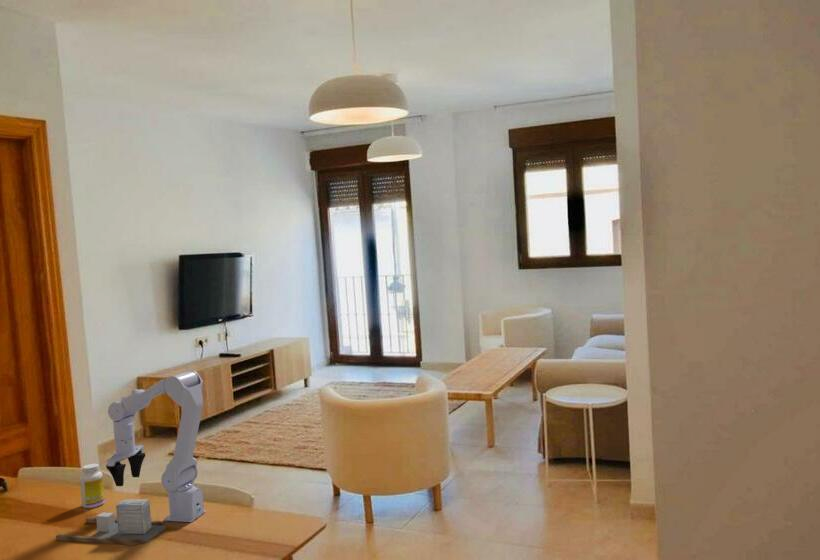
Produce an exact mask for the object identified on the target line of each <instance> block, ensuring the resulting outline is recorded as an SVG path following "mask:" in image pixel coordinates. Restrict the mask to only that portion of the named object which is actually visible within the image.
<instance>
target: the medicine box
mask: <svg viewBox="0 0 820 560" xmlns="http://www.w3.org/2000/svg"><path fill="white" fill-rule="evenodd" d="M115 510H116V519H117V523H118V534H145V533H146V532H147V531H148V530H149V529H150V528H151V527H152V524H151V521H152V516H151V515H152V514H151V504H150V499H149V498H133V499H128V498H126V499H123V500H121V501H120V502H119V503H117V505H116V506H115Z"/></svg>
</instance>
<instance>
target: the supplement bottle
mask: <svg viewBox="0 0 820 560" xmlns="http://www.w3.org/2000/svg"><path fill="white" fill-rule="evenodd" d="M99 469H100V465H99V463H89V464H86V465H83V466H82V472H83V474H81V475H80V477H79V482H80V483H79V484H80V493H81V505H82V507H83V509H93V508H97V506H98V507H100V506H102V505H104V504H105V501H106V499H105V498H106V497H105V487H104V486H105V485H104V475H103V472H101V471H99Z"/></svg>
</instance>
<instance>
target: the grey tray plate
mask: <svg viewBox="0 0 820 560" xmlns="http://www.w3.org/2000/svg"><path fill="white" fill-rule="evenodd" d="M95 518H96V519H97V523H96V530H97V532H96V533H94V534H92V535H91V536H92V537H107V538H123V539H137V541H138V543H144V544H145V543H148V542H149V541H150V539H151V540H152V539H154V538H155V537H157V536H158V535H159V534H161V533H162V532H163V531H165V530H167V525H163V526H158V525H152V527H151V528H150V529H149V530H148V531H147V532H146V533H145V534H118V523H115V519H116V518H115V513H114V512H103V511H102V512H101V513H99V514H97V515H96V516H95ZM164 529H165V530H164ZM161 531H162V532H161ZM160 532H161V533H160ZM157 534H158V535H157ZM154 536H155V537H154ZM153 537H154V538H153Z"/></svg>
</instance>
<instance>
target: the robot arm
mask: <svg viewBox="0 0 820 560" xmlns="http://www.w3.org/2000/svg"><path fill="white" fill-rule="evenodd" d="M203 384H204V380H203V379H202V378H201V376H200V374H199V373H198V372H197V371H195V370H192V369H190V370H187V371H185V372H182V373H179V374H175V375H169V376H168V377H165V378H163V379H161V380H159V381H158V382H155V383H154V384H153V385H151V386H150V387H148V388H147V389H142V388H141V389H139V388H137V389H133V390H131V393H130V394H129V395H125V396H123V397H121V400H118V401H113V402H112V403H111V404H109V406H108V408H107V414H108V417H109V418H110V419H111V420H112V424H113V437H114V449H115V451H114V452H113V454H112V456H111V457H109V459H108V458H107V460H106V465H105V466H106V470H108V472H109V473H110V474H111V477H112V478H113V481H114V484H115V486H116V487H123V486H124V483H125V482H124V481H125V480H124V478H125V477H124V476H125V470H126V465H127V464H126V463H122V462H123V461H126V460H128V462H129V467H130V473H131V477H132V478H140V474H141V471H142V470H141V468H142V464H143V462H144V460H145V457H146V453H145V452H144V451H145V450H144V445H142V444H138V445H136V440H135V439H136V438H135V426H134V422H135V420H136V419H135V416H136V414H137V413H138V412H139V411H142V410H143V409H145V408H147V407H148V406H149V405H151V401H152V400H153V399H155V398H156V397H159V396H160V395H162V394H163V395H167V396H168V397H169V398H171V399H172V400H173V402H175V404H177V405H178V406H180V407H181V408H182V411H181V418H180V421H179V427H178V432H177V436H176V443H175V447H174V451H173V457H172V458H171V459H170V461H168V463H167V464H166V467H165V470H164V472H163V473H162V475H161V484H162V487H163V488H164V490H166V492H167V493H168V507H169V509H168V510H169V515H167V516H165V518H164V519H163V522H164V521H165V522H181V523H182V522H183V523H192V522H194V521H195V520H196V519H198V518H200V516H201V515H203V514H204V513H206V510H205V507H204V493H203V490H202V489H201V488H200V487H196V486H195V485H194V484H195V480H196V479H197V477H198V473H199V471H198V466H197V465H198V460H197V459H196V458H195V457H194V454H195V453H194V452H195V447H196V442H197V437H198V434H199V433H198V431H199V428H200V427H199V426H200V424H201V418H202V413H203V407H204V400H203V399H204V398H203V392H202V389H203Z"/></svg>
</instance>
